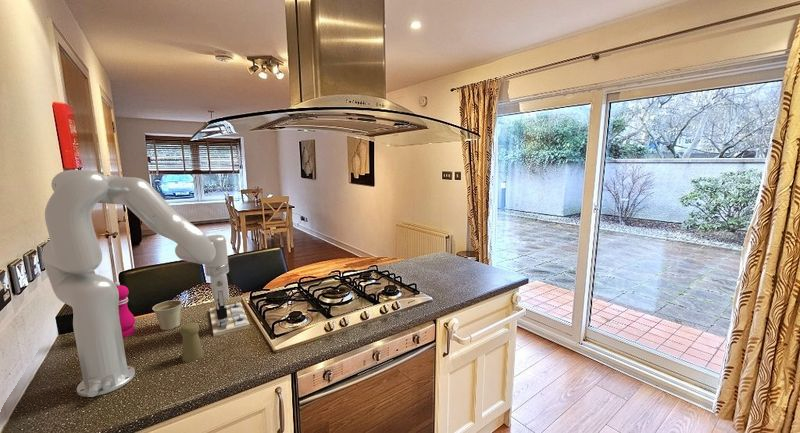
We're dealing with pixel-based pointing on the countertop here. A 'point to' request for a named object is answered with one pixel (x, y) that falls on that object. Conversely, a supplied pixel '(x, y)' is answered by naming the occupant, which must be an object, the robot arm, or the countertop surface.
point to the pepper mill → (125, 312)
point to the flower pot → (168, 314)
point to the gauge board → (229, 319)
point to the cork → (191, 342)
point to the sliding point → (227, 318)
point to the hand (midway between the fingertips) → (222, 315)
